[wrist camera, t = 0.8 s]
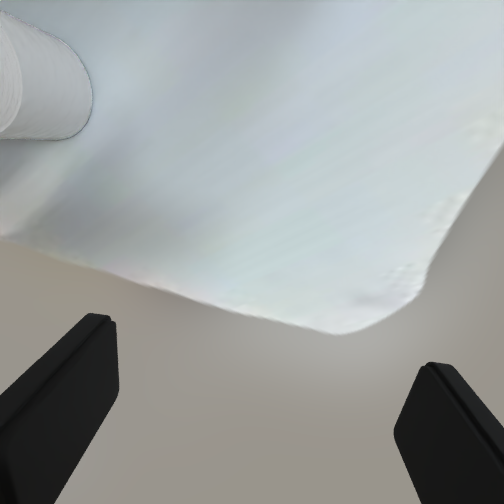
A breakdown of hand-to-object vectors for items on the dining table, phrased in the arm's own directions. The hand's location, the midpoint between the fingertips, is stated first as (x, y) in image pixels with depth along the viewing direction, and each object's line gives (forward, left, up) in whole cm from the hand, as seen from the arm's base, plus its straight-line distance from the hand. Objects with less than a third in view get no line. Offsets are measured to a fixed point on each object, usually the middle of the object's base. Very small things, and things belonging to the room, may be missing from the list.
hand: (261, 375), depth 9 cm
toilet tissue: (+10, -27, -29) cm, 40 cm away
